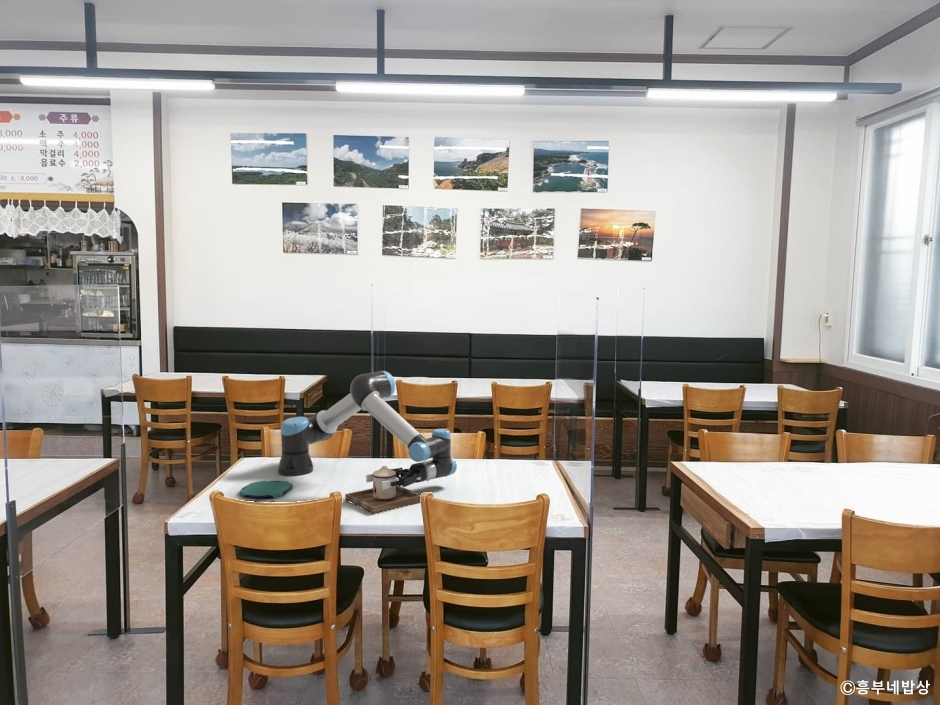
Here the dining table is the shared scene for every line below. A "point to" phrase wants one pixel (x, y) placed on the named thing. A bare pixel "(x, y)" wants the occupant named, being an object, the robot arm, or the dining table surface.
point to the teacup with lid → (378, 478)
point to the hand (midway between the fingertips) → (374, 482)
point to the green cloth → (266, 489)
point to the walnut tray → (383, 500)
